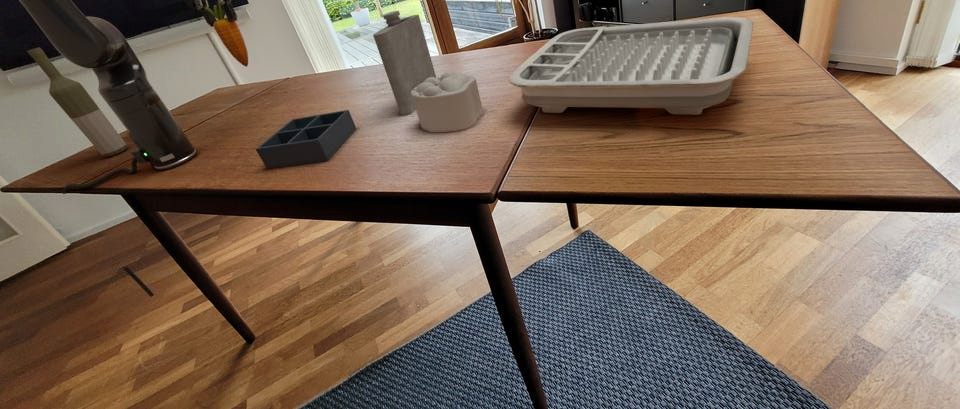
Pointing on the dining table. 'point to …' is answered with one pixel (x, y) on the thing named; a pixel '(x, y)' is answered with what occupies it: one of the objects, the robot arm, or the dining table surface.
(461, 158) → the dining table surface
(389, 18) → the hip flask
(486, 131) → the dining table surface
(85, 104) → the bottle
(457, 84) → the lumpy-topped squat cylinder
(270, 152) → the four-compartment tray
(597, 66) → the dish rack
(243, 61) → the carrot
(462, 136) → the dining table surface
